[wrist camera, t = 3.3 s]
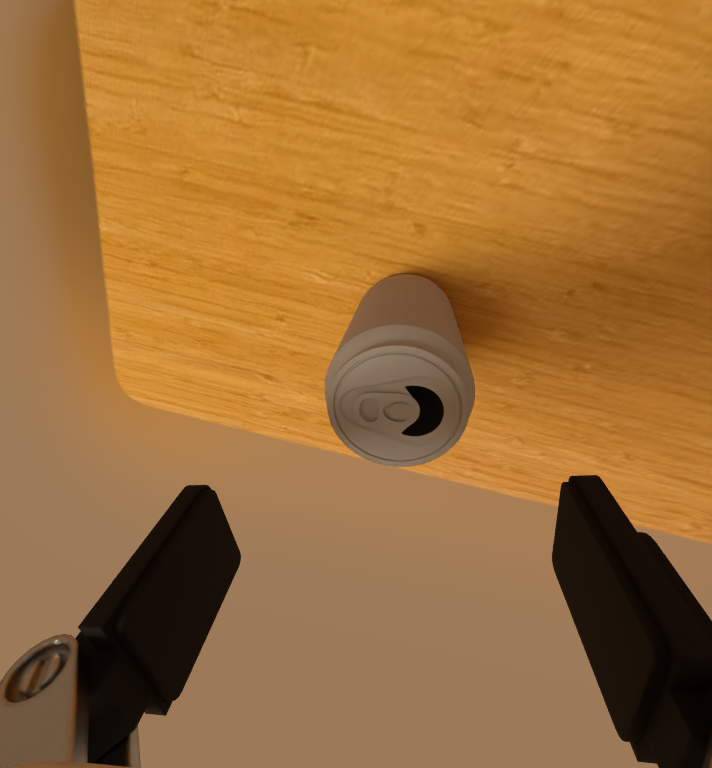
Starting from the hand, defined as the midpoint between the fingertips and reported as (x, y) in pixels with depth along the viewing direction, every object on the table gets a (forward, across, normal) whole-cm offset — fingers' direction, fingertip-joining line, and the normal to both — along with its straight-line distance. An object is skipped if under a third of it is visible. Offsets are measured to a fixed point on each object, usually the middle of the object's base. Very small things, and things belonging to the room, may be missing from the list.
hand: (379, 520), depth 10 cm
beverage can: (+18, 0, 0) cm, 18 cm away
